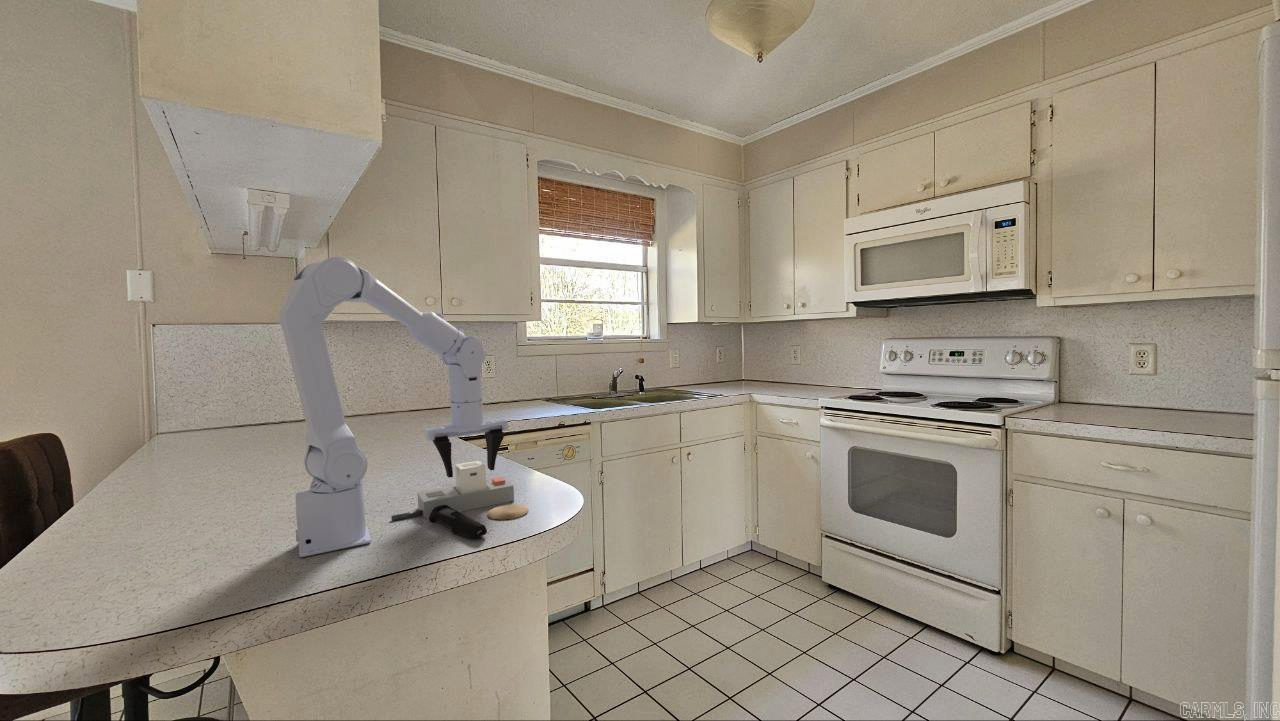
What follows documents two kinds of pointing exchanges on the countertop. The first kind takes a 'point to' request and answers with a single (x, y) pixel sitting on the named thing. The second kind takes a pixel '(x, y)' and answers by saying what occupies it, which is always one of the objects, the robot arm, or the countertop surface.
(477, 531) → the electric trimmer
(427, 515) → the power strip
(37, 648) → the countertop surface
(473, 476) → the box
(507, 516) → the coaster
